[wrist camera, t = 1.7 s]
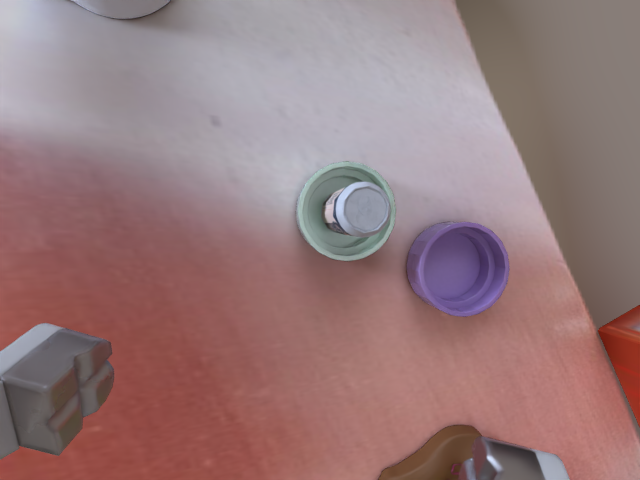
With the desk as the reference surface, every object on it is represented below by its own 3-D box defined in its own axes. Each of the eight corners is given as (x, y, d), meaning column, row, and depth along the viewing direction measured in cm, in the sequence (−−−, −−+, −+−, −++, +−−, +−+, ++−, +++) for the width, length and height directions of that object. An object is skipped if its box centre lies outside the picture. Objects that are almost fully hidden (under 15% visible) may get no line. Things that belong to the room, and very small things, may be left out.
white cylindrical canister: (325, 237, 44) (344, 243, 33) (315, 196, 44) (332, 187, 32) (365, 228, 45) (399, 230, 33) (356, 187, 45) (387, 175, 33)
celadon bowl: (279, 193, 44) (280, 190, 40) (358, 152, 45) (368, 144, 40) (321, 272, 45) (327, 278, 41) (398, 231, 46) (411, 232, 41)
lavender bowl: (390, 247, 46) (403, 250, 41) (464, 207, 47) (485, 205, 42) (428, 322, 47) (445, 333, 42) (500, 281, 48) (523, 287, 43)
